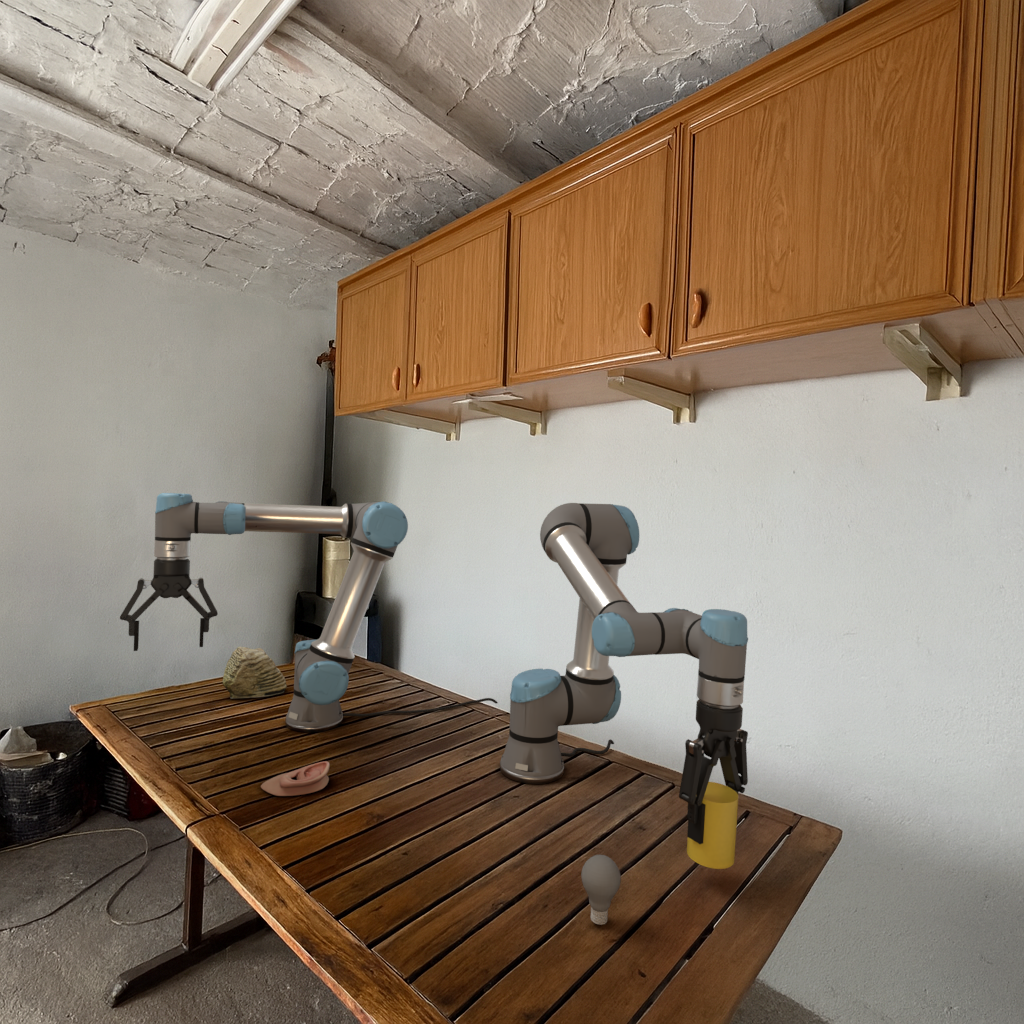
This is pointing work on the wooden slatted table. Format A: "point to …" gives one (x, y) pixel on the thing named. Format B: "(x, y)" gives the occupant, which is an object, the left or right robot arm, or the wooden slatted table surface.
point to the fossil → (252, 674)
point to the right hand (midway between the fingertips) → (711, 832)
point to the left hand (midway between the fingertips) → (169, 647)
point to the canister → (717, 828)
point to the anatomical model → (299, 780)
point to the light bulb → (600, 885)
